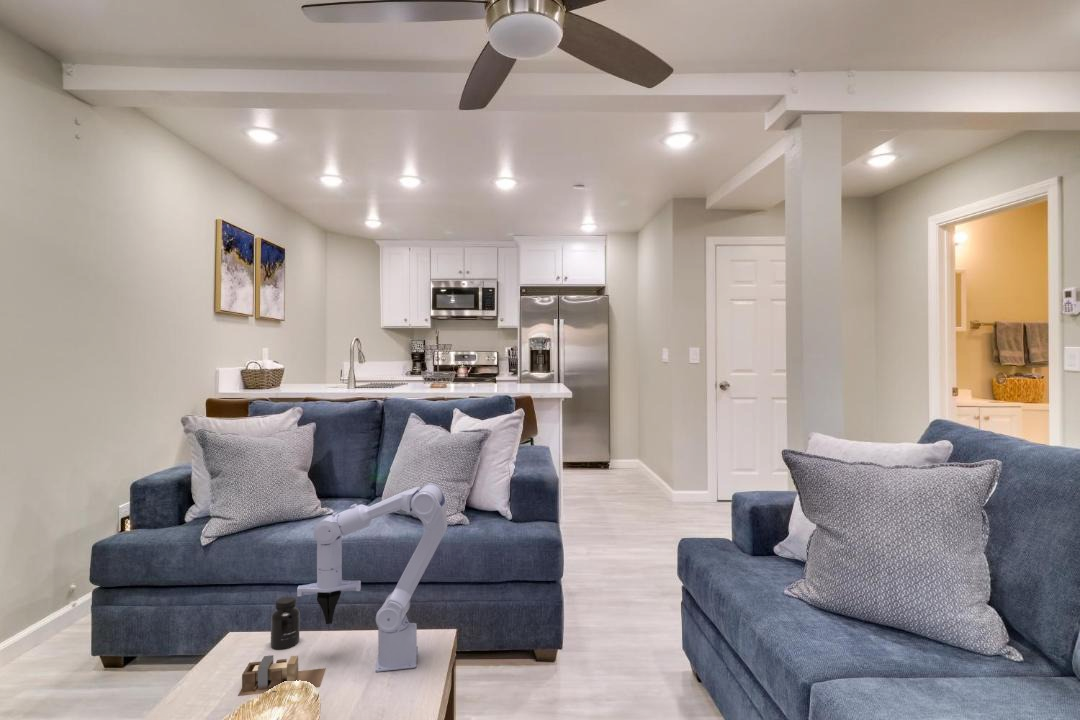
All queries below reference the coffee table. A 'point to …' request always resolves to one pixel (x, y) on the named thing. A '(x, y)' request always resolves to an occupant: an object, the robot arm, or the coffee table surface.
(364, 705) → the coffee table surface
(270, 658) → the collar
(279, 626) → the supplement bottle
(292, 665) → the shaft
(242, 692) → the jig
